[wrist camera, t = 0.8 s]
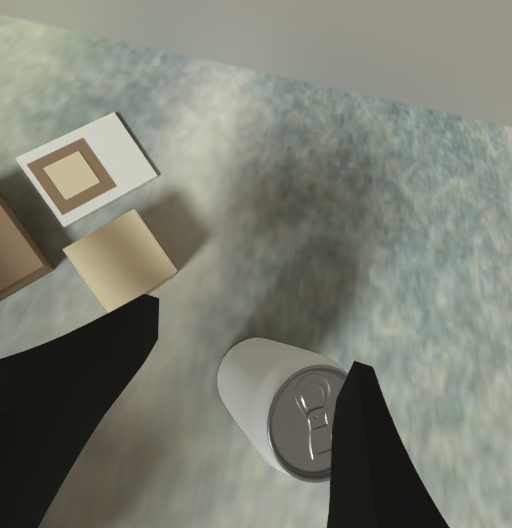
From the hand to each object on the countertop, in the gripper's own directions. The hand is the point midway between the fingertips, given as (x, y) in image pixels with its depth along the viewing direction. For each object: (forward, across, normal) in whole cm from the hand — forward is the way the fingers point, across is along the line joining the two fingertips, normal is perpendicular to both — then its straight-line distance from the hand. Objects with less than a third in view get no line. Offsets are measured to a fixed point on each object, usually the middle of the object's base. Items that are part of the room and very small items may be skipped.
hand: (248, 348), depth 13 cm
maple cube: (+11, +12, +7) cm, 18 cm away
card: (+14, +17, +1) cm, 22 cm away
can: (+11, 0, +14) cm, 18 cm away
